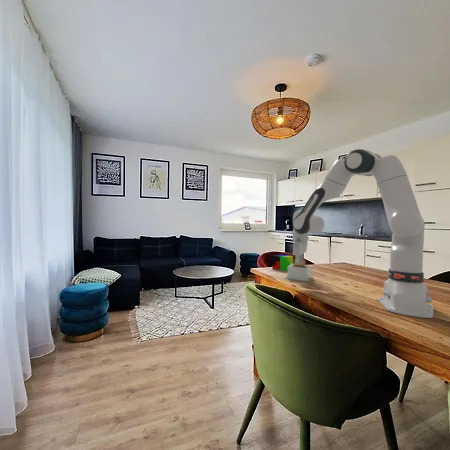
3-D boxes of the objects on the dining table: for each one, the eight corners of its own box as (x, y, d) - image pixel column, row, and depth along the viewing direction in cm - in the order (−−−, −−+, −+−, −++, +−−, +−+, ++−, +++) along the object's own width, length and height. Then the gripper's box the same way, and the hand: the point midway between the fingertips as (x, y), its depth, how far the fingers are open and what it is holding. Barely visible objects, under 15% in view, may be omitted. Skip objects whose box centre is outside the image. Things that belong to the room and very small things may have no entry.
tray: (309, 283, 137) (309, 282, 137) (283, 280, 144) (283, 278, 144) (313, 278, 149) (313, 277, 149) (290, 276, 156) (290, 274, 156)
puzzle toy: (281, 268, 182) (281, 254, 182) (292, 270, 174) (293, 256, 174) (272, 269, 176) (272, 255, 175) (284, 272, 168) (284, 257, 168)
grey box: (306, 281, 139) (307, 268, 139) (287, 278, 144) (287, 266, 144) (310, 277, 148) (310, 265, 148) (292, 275, 154) (292, 263, 154)
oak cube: (303, 269, 143) (303, 260, 143) (294, 268, 145) (294, 259, 145) (304, 267, 147) (305, 259, 147) (296, 267, 149) (296, 258, 149)
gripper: (301, 239, 135) (301, 264, 136) (309, 237, 153) (308, 259, 153) (290, 238, 138) (289, 263, 139) (298, 236, 156) (298, 259, 156)
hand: (299, 261), depth 146 cm, fingers open, 8 cm apart
